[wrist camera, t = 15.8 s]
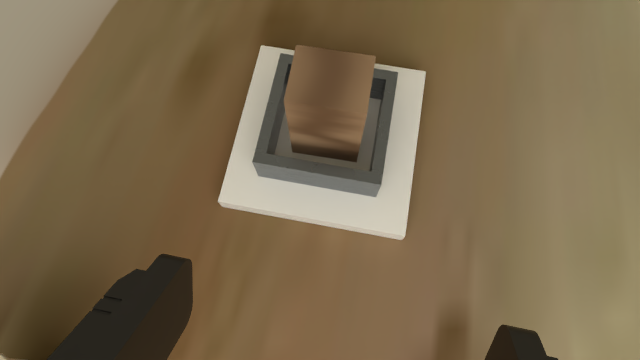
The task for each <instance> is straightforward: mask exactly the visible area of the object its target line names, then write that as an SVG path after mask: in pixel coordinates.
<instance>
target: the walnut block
mask: <svg viewBox="0 0 640 360" xmlns="http://www.w3.org/2000/svg"><path fill="white" fill-rule="evenodd" d="M375 59H376V56H373V55H366V54H359V53H352V52H345V51H338V50H331V49H324V48H317V47H310V46H303V45H296V48H295V52H294V57H293V61H292V66H291V70H290V75H289V79H288V84H287V88H286V92H285V97H284V106H285V111H286V117H287V123H288V129H289V135H290V141H291V147H292V152H294V153H300V154H307V155H313V156H319V157H326V158H332V159H338V160H345V161H351V162H357V158H358V153H359V149H360V144H361V140H362V135H363V130H364V126H365V121H366V117H367V112H368V105H369V98H370V92H371V85H372V79H373V72H374V65H375Z"/></svg>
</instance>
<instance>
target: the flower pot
mask: <svg viewBox="0 0 640 360" xmlns="http://www.w3.org/2000/svg"><path fill="white" fill-rule="evenodd" d="M0 360H26V359H13V358H8V357H6V356H5V355H3V354H2V353H0Z"/></svg>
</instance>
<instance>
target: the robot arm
mask: <svg viewBox="0 0 640 360" xmlns="http://www.w3.org/2000/svg"><path fill="white" fill-rule="evenodd" d="M192 304H193V291H192V262H191V260H190V259H186V258H181V257H176V256H171V255H167V254H161V255H159V256H158V257H157V258H156V260H155V261H154V262H153V263H152V264H151V266H150V267H149V268H148V269H147V270H146V271H144V270H139V269H136V270H134V271H133V272H131V273H129V274H127V275H126V276H124V277H122V278H121V279H119V280H117V282H116V283H115V284H114V285H113V286H112V287H111V288H110V289H109V290H108V292H107V293H106V294H105V295H104V298H103V299H100V301H99V302H98V303H97V304H96V305H95V306H94V307H93V310H92V311H91V312H89V313H88V314H87V315H86V316H85V317H84V318H83V320H82V321H81V322H80V323H79V324H78V325H77V326H76V327H75V329H74V330H73V331H72V332H71V333H70V334H69V335H68V336H67V337H66V339H65V340H64V341H63V342H62V343H61V344H60V345H59V346H58V348H57V349H56V350H55V351H54V352H53V353H52V354H51V355H50V356H49V358H48V359H47V360H167V358H168V356H169V355H170V353H171V351H172V350H173V348H174V346H175V344H176V343H177V341H178V339H179V338H180V336H181V334H182V332H183V331H184V329H185V327H186V325H187V323H188V321H189V318H190V315H191V311H192ZM485 360H558V359H557V358H554V357H549V356H547V355H546V353H545V350H544V348H543V345H542V343H541V340H540V338H539V336H538V334H537V333H536V332H535V331H532V330H527V329H522V328H517V327H513V326H508V325H501V326H500V327H499V329H498V331H497V333H496V335H495V337H494V340H493V342H492V344H491V346H490V349H489V351H488V353H487V355H486V358H485Z"/></svg>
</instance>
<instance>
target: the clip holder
mask: <svg viewBox="0 0 640 360" xmlns="http://www.w3.org/2000/svg"><path fill="white" fill-rule="evenodd" d="M294 52H295V51H294V50H288V49H282V48H275V47H269V46H263V45H261V48H260V52H259V55H258V59H257V62H256V66H255V70H254V73H253V77H252V80H251V84H250V88H249V91H248V95H247V98H246V102H245V106H244V109H243V113H242V116H241V120H240V124H239V127H238V131H237V134H236V138H235V142H234V145H233V149H232V152H231V156H230V160H229V163H228V167H227V170H226V174H225V178H224V181H223V185H222V188H221V192H220V196H219V199H218V202H219V203H220V205H221V206H222V207H226V208H232V209H237V210H243V211H248V212H253V213H259V214H264V215H270V216H275V217H280V218H286V219H291V220H296V221H302V222H307V223H313V224H318V225H323V226H329V227H334V228H339V229H345V230H350V231H356V232H361V233H366V234H372V235H377V236H383V237H388V238H393V239H399V240H402V239H403V238H404V237H405V233H406V226H407V218H408V210H409V202H410V194H411V186H412V178H413V170H414V162H415V154H416V146H417V139H418V131H419V123H420V115H421V107H422V99H423V91H424V83H425V75H426V72H425V71H419V70H413V69H407V68H400V67H394V66H388V65H382V64H375V65H374V72H373V79H372V85H371V92H370V98H369V105H368V112H367V117H366V121H365V126H364V130H363V135H362V140H361V144H360V149H359V153H358V158H357V162H351V161H345V160H338V159H332V158H326V157H319V156H313V155H307V154H300V153H294V152H292V147H291V141H290V135H289V129H288V123H287V117H286V111H285V106H284V97H285V92H286V88H287V84H288V79H289V75H290V70H291V66H292V61H293V57H294Z"/></svg>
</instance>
